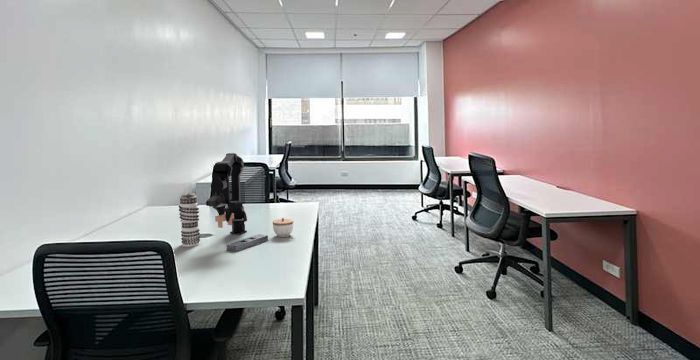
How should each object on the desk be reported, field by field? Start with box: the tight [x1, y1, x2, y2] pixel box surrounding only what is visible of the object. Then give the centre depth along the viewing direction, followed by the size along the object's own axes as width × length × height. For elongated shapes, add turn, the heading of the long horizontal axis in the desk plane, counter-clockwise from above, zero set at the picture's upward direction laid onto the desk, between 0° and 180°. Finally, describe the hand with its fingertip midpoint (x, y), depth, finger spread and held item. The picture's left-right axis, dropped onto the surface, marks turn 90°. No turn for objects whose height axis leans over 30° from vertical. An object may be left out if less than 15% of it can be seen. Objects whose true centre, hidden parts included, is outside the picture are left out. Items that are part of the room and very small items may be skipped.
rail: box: [225, 233, 269, 252], centre depth 205 cm, size 6×22×2 cm, turn 150°
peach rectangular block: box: [214, 213, 234, 229], centre depth 203 cm, size 3×9×6 cm, turn 150°
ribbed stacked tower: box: [178, 192, 201, 248], centre depth 206 cm, size 9×9×25 cm
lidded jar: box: [272, 217, 294, 238], centre depth 221 cm, size 11×11×9 cm
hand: (225, 221), depth 203 cm, fingers closed on peach rectangular block, 3 cm apart
